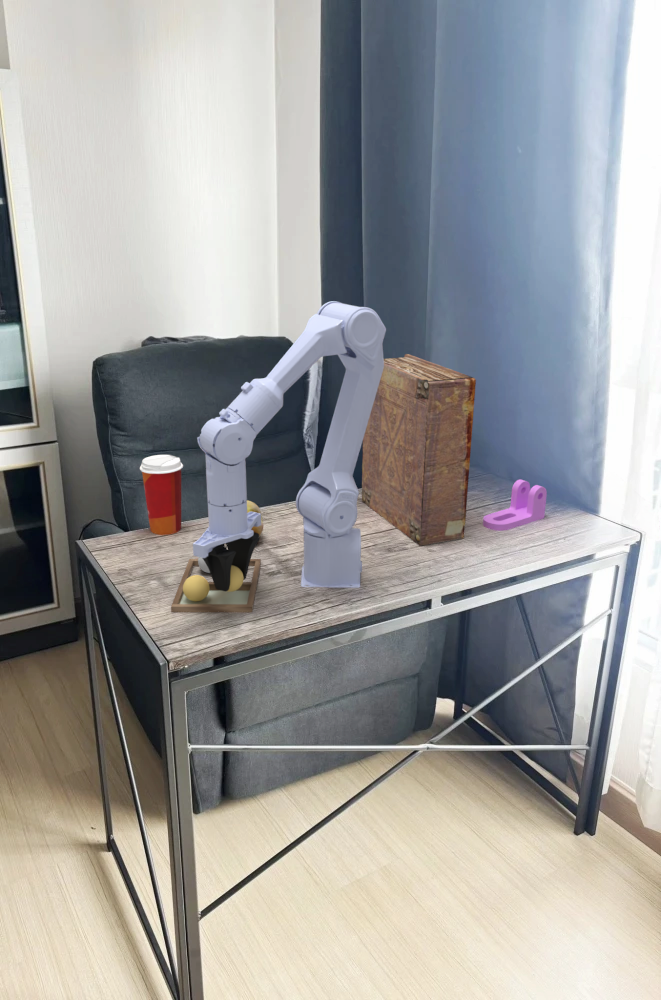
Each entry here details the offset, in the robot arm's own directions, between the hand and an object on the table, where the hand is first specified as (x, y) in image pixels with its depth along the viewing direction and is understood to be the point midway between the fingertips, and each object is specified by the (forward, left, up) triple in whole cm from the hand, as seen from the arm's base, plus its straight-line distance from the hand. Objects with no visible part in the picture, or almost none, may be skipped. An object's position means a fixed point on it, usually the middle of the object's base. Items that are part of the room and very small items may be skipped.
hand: (230, 583), depth 122 cm
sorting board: (+3, -5, -3) cm, 6 cm away
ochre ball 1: (+5, 0, -3) cm, 6 cm away
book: (-31, -35, -4) cm, 47 cm away
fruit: (+1, -24, -4) cm, 24 cm away
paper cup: (+16, -29, -4) cm, 33 cm away
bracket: (-50, -35, -4) cm, 61 cm away
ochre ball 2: (0, 0, -1) cm, 1 cm away
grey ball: (+5, -10, -3) cm, 11 cm away
